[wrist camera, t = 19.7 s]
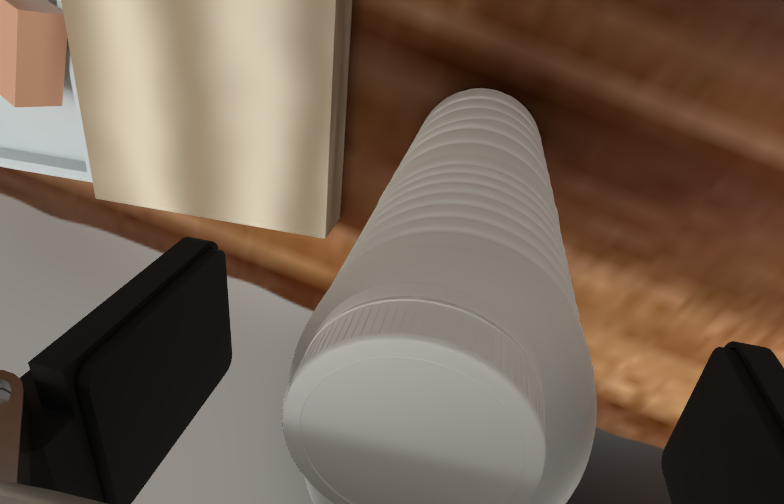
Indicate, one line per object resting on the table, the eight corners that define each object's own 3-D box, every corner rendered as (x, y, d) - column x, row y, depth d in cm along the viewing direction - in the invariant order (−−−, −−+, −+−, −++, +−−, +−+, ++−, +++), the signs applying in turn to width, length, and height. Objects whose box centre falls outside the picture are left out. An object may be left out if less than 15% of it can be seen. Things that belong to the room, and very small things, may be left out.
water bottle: (530, 210, 30) (599, 855, 8) (414, 198, 31) (188, 740, 9) (558, 44, 26) (870, 405, 4) (425, 35, 27) (54, 285, 5)
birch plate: (353, -24, 26) (336, -25, 23) (340, 217, 32) (325, 238, 29) (94, -53, 28) (51, -57, 25) (127, 181, 34) (95, 198, 31)
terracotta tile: (68, 15, 27) (18, 9, 25) (62, 105, 30) (14, 107, 28) (15, -23, 29) (-37, -31, 27) (12, 66, 31) (-36, 65, 29)
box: (87, -43, 28) (59, -45, 26) (119, 173, 34) (98, 183, 32) (-78, -62, 29) (-115, -65, 27) (-21, 149, 35) (-49, 158, 33)
